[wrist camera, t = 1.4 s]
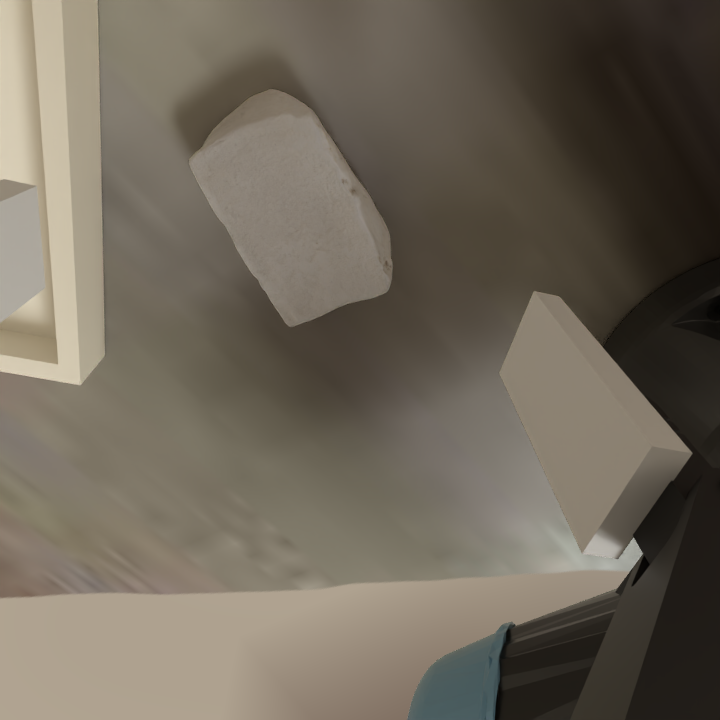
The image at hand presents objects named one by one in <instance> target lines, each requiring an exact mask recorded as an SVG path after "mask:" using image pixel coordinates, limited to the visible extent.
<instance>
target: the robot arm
mask: <svg viewBox="0 0 720 720" xmlns="http://www.w3.org/2000/svg"><path fill="white" fill-rule="evenodd" d="M44 288H45V276H44V265H43V253H42V241H41V229H40V217H39V206H38V194H37V186H35V185H30V184H25V183H20V182H16V181H11V180H6V179H3V180H0V323H1V322H2V321H3V320H5V319H6V318H7V317H8V316H10V315H11V314H12V313H14V312H15V311H16V310H17V309H19V308H20V307H21V306H23V305H24V304H25V303H26V302H28V301H29V300H30V299H32V298H33V297H34V296H35V295H37V294H38V293H39V292H40V291H42V290H43V289H44ZM499 374H500V376H501V378H502V380H503V383H504V385H505V387H506V389H507V391H508V394H509V396H510V398H511V400H512V402H513V404H514V407H515V409H516V411H517V413H518V415H519V417H520V420H521V422H522V424H523V426H524V428H525V431H526V433H527V435H528V437H529V439H530V441H531V444H532V446H533V448H534V450H535V452H536V454H537V457H538V459H539V461H540V463H541V465H542V467H543V470H544V472H545V474H546V476H547V478H548V481H549V483H550V485H551V487H552V489H553V491H554V494H555V496H556V498H557V500H558V502H559V504H560V507H561V509H562V511H563V513H564V515H565V518H566V520H567V522H568V524H569V526H570V528H571V531H572V533H573V535H574V537H575V539H576V541H577V544H578V546H579V548H580V550H581V552H582V554H587V555H594V556H601V557H608V558H615V559H618V558H619V557H620V556H621V554H622V553H623V551H624V550H625V548H626V547H627V546H628V544H629V543H630V541H631V540H632V539H633V537H634V538H635V540H636V542H637V544H638V545H639V547H640V549H641V551H642V552H643V555H642V556H641V558H640V559H639V560H638V562H637V563H636V564H635V566H634V567H633V568H632V570H631V571H630V572H629V574H628V575H627V577H626V578H625V579H624V581H623V582H622V583H621V585H620V586H619V587H618V588H617V589H614V590H612V591H609V592H606V593H604V594H601V595H598V596H596V597H593V598H590V599H588V600H585V601H582V602H579V603H577V604H574V605H571V606H569V607H566V608H563V609H560V610H558V611H555V612H552V613H550V614H547V615H545V616H542V617H539V618H536V619H533V620H531V621H528V622H526V623H523V624H520V625H517V626H516V625H515V624H514V623H513V622H509V623H505V624H503V625H502V626H501V627H500V628H499V629H498V630H497V632H496V633H494V634H492V635H490V636H488V637H486V638H483V639H481V640H479V641H476V642H474V643H472V644H469V645H467V646H465V647H463V648H460V649H458V650H456V651H453V652H451V653H449V654H447V655H445V656H443V657H442V658H440V659H439V660H437V661H436V662H435V663H434V664H433V665H432V666H430V668H429V669H428V670H427V671H426V673H425V674H424V676H423V677H422V679H421V681H420V683H419V684H418V687H417V689H416V691H415V694H414V696H413V699H412V702H411V706H410V710H409V715H408V719H407V720H720V259H717V260H714V261H712V262H709V263H706V264H704V265H701V266H699V267H697V268H694V269H692V270H690V271H688V272H686V273H684V274H682V275H680V276H679V277H677V278H675V279H674V280H672V281H670V282H669V283H667V284H666V285H664V286H662V287H661V288H659V289H658V290H657V291H655V292H654V293H653V294H651V295H650V296H649V297H648V298H646V299H645V300H644V301H643V302H641V303H640V304H639V305H638V306H637V307H636V308H635V309H634V310H633V311H632V312H631V313H630V314H629V315H628V316H627V317H626V318H625V319H624V320H623V321H622V322H621V324H620V325H619V326H618V327H617V328H616V330H615V331H614V332H613V334H612V335H611V336H610V338H609V339H608V341H607V342H606V344H605V345H604V347H602V346H601V345H600V344H599V342H598V341H597V340H596V339H595V338H594V336H593V335H592V334H591V333H590V332H589V331H588V329H587V328H586V327H585V326H584V325H583V324H582V322H581V321H580V320H579V319H578V318H577V316H576V315H575V314H574V313H573V312H572V311H571V309H570V308H569V307H568V306H567V305H566V303H565V302H564V301H563V300H562V299H561V298H560V296H556V295H551V294H546V293H542V292H537V291H534V292H533V294H532V296H531V299H530V301H529V303H528V306H527V308H526V311H525V313H524V315H523V318H522V320H521V322H520V325H519V327H518V330H517V332H516V334H515V337H514V339H513V341H512V344H511V346H510V348H509V351H508V353H507V356H506V358H505V360H504V363H503V365H502V367H501V370H500V372H499Z"/></svg>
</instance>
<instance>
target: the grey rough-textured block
mask: <svg viewBox="0 0 720 720" xmlns="http://www.w3.org/2000/svg"><path fill="white" fill-rule="evenodd" d="M189 165H190V168H191V170H192V172H193V173H194V176H195V179H196V181H197V182H198V184H199V186H200V188H201V190H202V191H203V193H204V195H205V197H206V198H207V200H208V202H209V204H210V206H211V208H212V209H213V211H214V213H215V214H216V216H217V217H218V219H219V220H220V221H221V222H222V223H223V224H224V225H225V227H226V228H227V230H228V233H229V234H230V236H231V237H232V240H233V242H234V245H235V248H236V249H237V251H238V253H239V254H240V256H241V257H242V259H243V261H244V263H245V264H246V266H247V267H248V269H249V270H250V272H251V273H252V274H253V275H254V277H256V278H257V279H258V281H259V283H260V285H261V287H262V288H263V290H265V292H266V293H267V295H268V297H269V299H270V301H271V302H272V304H273V305H274V307H275V308H276V310H277V311H278V313H279V314H280V315H281V317H282V319H283V320H284V322H285V323H286V324H287V325H288V326H290V327H294V326H296V325H299V324H302V323H304V322H309V321H311V320H314V319H316V318H318V317H321V316H323V315H324V314H326V313H328V312H330V311H332V310H334V309H336V308H338V307H341V306H344V305H346V304H348V303H354V302H358V301H361V300H367V299H372V298H375V297H377V296H380V295H382V294H385V293H386V292H387V291H388V290H389V289H390V285H391V281H392V270H393V263H392V260H391V238H390V234H389V231H388V228H387V226H386V224H385V222H384V220H383V218H382V216H381V215H380V213H379V212H378V211H377V209H376V207H375V205H374V203H373V201H372V198H371V196H370V195H369V193H368V192H367V191H366V189H365V188H364V187H363V185H362V184H361V183H360V182H359V180H358V179H357V177H356V176H355V175H354V173H353V172H352V170H351V169H350V167H349V165H348V163H347V162H346V160H345V159H344V157H343V156H342V154H341V152H340V151H339V149H338V148H337V146H336V144H335V143H334V142H333V140H332V138H331V137H330V136H329V134H328V133H327V132H326V130H325V129H324V127H323V125H322V124H321V122H320V120H319V118H318V117H317V115H316V114H315V113H314V111H313V110H312V109H311V108H309V107H307V105H306V104H304V103H302V102H300V101H299V100H297V99H296V98H295V97H292V96H290V95H289V94H287V93H285V92H281V91H279V90H275V89H268V90H267V91H264V92H261V93H257V94H255V95H253V96H251V97H249V98H248V99H247V100H245V101H244V102H243V103H242V104H241V105H240V106H239V107H237V108H236V109H235V110H234V111H233V112H232V113H230V114H229V115H228V116H227V117H225V118H224V119H223V120H222V121H221V122H220V123H219V124H218V125H217V126H216V127H215V128H214V129H213V130H212V132H211V133H210V134H209V136H208V137H207V139H206V140H205V142H204V143H203V146H202V148H200V149H199V150H198V151H197V152H196V153H195V154H194V155H193V156H191V157H190V158H189Z"/></svg>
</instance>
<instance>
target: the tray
mask: <svg viewBox="0 0 720 720" xmlns="http://www.w3.org/2000/svg"><path fill="white" fill-rule="evenodd" d="M3 179H6V180H11V181H16V182H20V183H25V184H30V185H35V186H37V194H38V206H39V217H40V229H41V241H42V253H43V265H44V276H45V288H44V289H43V290H42V291H40V292H39V293H38V294H37V295H35V296H34V297H33V298H32V299H30V300H29V301H28V302H26V303H25V304H24V305H23V306H21V307H20V308H19V309H17V310H16V311H15V312H14V313H12V314H11V315H10V316H8V317H7V318H6V319H5V320H3V321H2V322H1V323H0V371H1V372H7V373H13V374H18V375H24V376H30V377H36V378H42V379H47V380H53V381H59V382H65V383H71V384H76V385H81V384H82V383H83V382H84V380H85V379H86V378H87V377H88V376H89V374H90V373H91V372H92V371H93V370H94V368H95V367H96V366H97V365H98V364H99V362H100V361H101V360H102V359H103V357H104V356H105V322H104V274H103V225H102V177H101V128H100V80H99V31H98V0H0V180H3Z"/></svg>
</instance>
